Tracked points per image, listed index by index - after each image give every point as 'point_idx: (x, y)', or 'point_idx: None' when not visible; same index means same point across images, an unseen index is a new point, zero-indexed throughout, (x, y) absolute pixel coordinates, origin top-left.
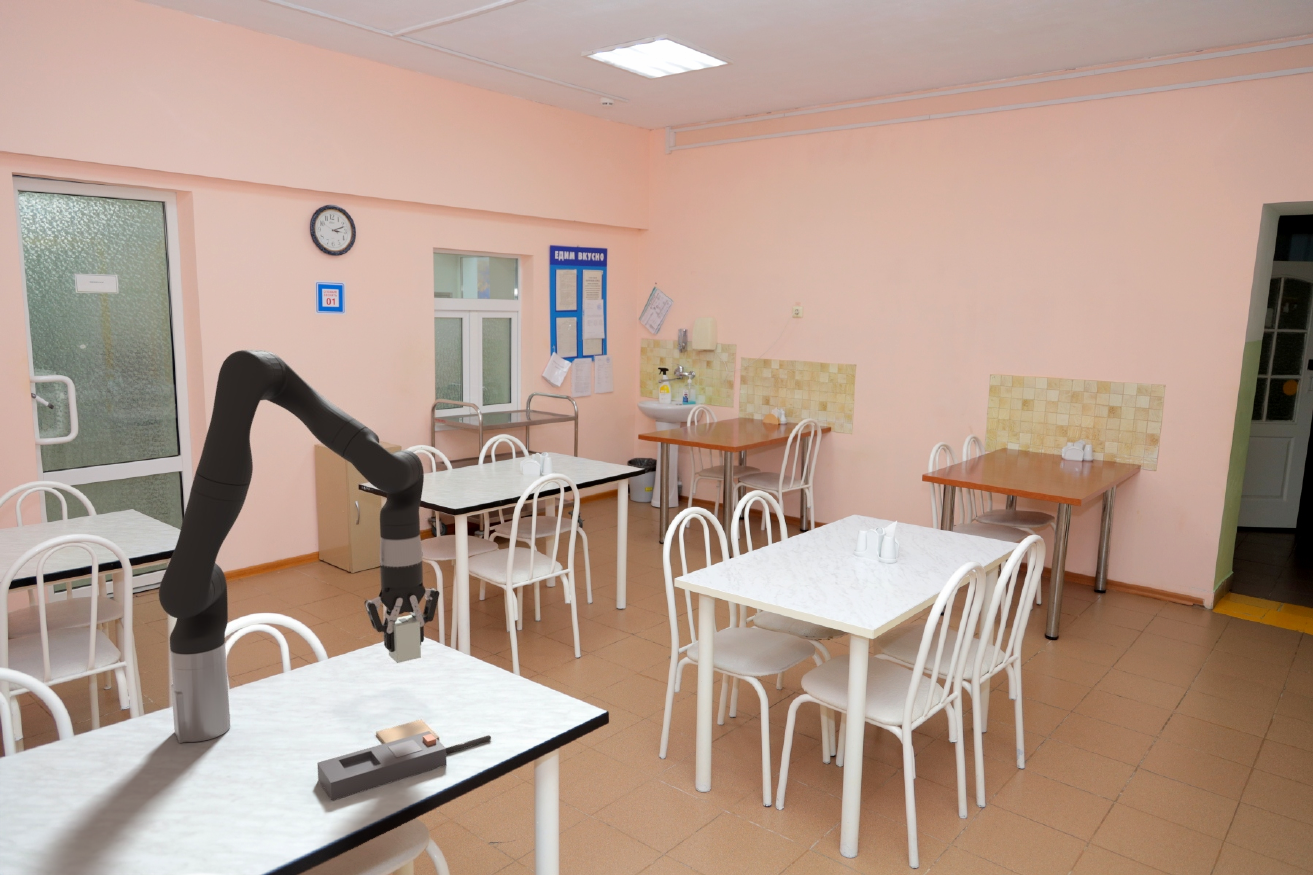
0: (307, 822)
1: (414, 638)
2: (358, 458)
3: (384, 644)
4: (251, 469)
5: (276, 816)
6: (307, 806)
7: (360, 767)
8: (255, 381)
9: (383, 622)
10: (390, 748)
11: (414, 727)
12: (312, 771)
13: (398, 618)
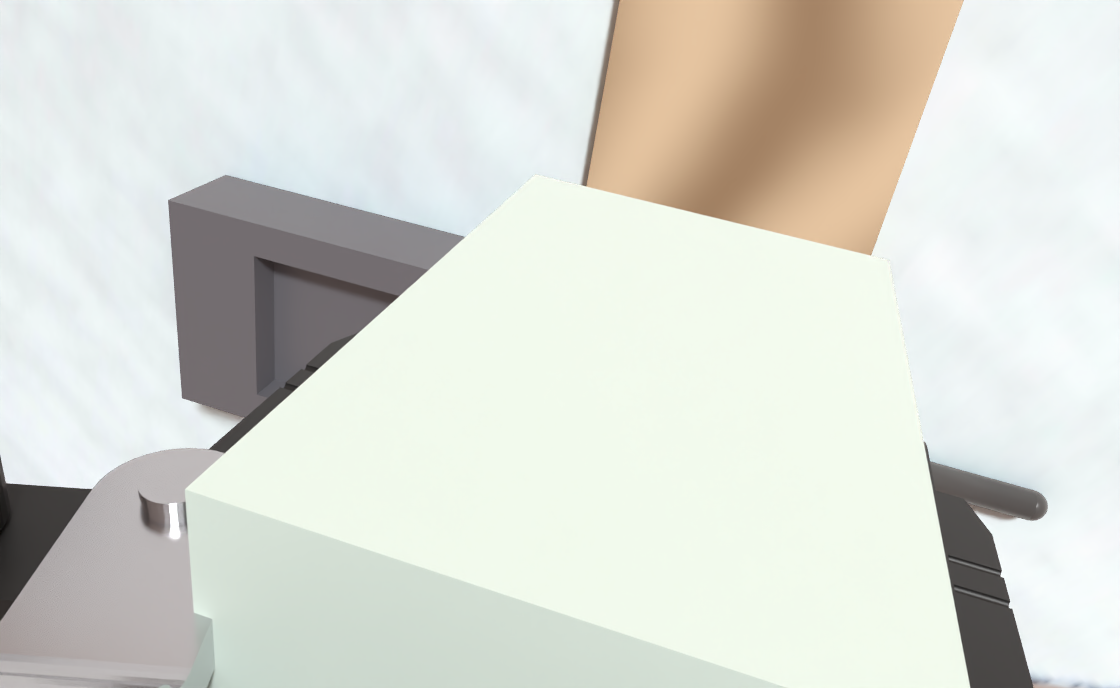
0: (138, 408)
1: None
2: None
3: (325, 359)
4: None
5: (56, 297)
6: (154, 323)
7: (349, 327)
8: None
9: (43, 565)
10: None
11: (844, 71)
12: (222, 76)
13: (478, 655)
